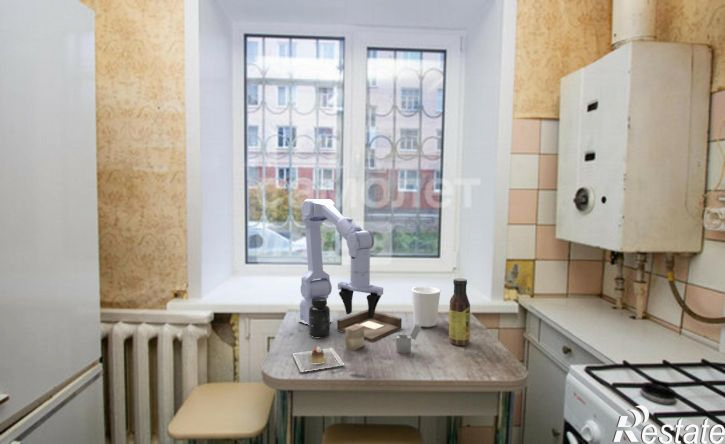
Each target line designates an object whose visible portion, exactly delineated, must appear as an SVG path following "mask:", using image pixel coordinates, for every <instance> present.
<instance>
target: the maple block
mask: <svg viewBox="0 0 725 444" xmlns="http://www.w3.org/2000/svg"><path fill="white" fill-rule="evenodd" d="M363 346H365V340H364V326H363V325H359V324H355V325H353V326H350V327H348V328H346V333H345V349H347V350H351V351H355V350H357V349H359V348H362V347H363Z"/></svg>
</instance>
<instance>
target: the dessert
mask: <svg viewBox="0 0 725 444" xmlns="http://www.w3.org/2000/svg"><path fill="white" fill-rule="evenodd" d="M324 351H331V352H332V354H333V355H334V357H335V358H336V360H337V361H338V363H339V364H340V365H338V363H337V365H332V366H331V365H330V366H325V367H320V368H313V369H307V370H304V371H303V370H302V368H301V366H300V365H299V363H298V361H297V358H296V356H295V355H294V354H302V353H312V354H311V355H310V358H309V362H310V361H311V362H312V363H322V362H325V360H326V359H327V358H326V357H325V353H324ZM291 355H292V356H293V359H294V361H295V363H296V366H297V368H298V370H299V372H300V373H307V371H309V372H313V370H315V371H319V369H321V370H326V369H325V368H327V369H333V368H338V366H339V367H343V366H345V363H344V361H343V360H342V359H341V357H340V355H338V353H337V351H336V350H335V349H334V348H333V347H329V348H321V347H320V346H317V347H316V348H313V350H309V351H300V352H294V353H292V354H291ZM336 360H335V361H336ZM326 361H327V360H326ZM325 363H326V362H325ZM332 367H333V368H332Z"/></svg>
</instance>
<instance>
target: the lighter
mask: <svg viewBox="0 0 725 444" xmlns="http://www.w3.org/2000/svg"><path fill="white" fill-rule="evenodd" d="M414 325H415V324H414ZM421 329H422V326H420V325H418V324H416V325H415V326H414V328H413V330H412V331H411V333H410V335H408V333H407V332H402V333H401V332H400V333H399V334H398V335H396V336H395V342H396V343H395V351H396V353H401V354H402V353H403V354H404V353H411V352H412V351H411V350H412V349H411V348H412V347H411V346H412V340H414V341H415V340H416V339H417V337H418V335H419V333H420V331H421Z"/></svg>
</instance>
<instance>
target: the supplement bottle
mask: <svg viewBox="0 0 725 444" xmlns="http://www.w3.org/2000/svg"><path fill="white" fill-rule="evenodd" d="M327 301H328V298H325V297H314V298H312V305H313V306H311V307H310V308H309V326H308V335H309V336H310V335H311V336H313V337H324V338H327V337H329V336H330V334H331V323H330V321H331V313H330V312H331V308H330V307H329V306H328V302H327ZM311 336H310V337H311ZM326 336H327V337H326ZM313 337H312V338H313Z"/></svg>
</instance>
